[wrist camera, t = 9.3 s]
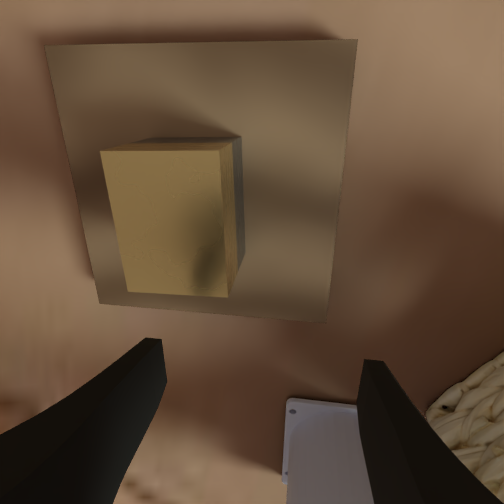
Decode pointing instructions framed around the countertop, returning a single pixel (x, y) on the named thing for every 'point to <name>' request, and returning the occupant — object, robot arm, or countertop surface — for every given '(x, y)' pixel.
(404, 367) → the countertop surface
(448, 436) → the storage basket
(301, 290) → the walnut stand
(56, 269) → the countertop surface
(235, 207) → the block
